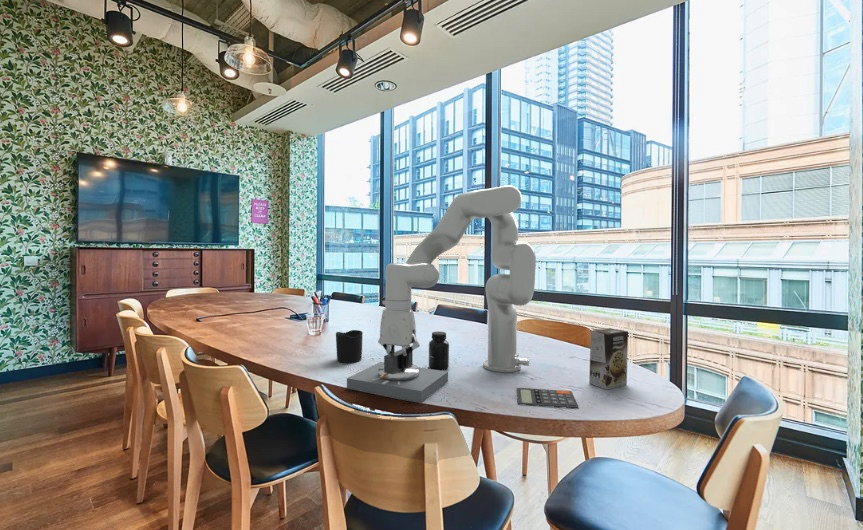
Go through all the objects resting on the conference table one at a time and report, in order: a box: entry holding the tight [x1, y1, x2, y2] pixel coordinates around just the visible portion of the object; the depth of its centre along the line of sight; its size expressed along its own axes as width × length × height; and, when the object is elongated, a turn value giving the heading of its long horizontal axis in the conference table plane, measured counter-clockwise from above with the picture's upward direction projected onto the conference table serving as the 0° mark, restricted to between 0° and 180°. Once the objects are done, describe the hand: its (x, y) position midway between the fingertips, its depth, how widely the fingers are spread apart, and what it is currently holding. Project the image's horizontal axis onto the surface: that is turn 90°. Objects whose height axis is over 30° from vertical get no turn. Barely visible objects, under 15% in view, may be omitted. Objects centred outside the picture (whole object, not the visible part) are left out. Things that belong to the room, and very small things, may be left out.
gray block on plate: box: [378, 348, 420, 381], centre depth 116 cm, size 14×12×6 cm
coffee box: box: [588, 327, 629, 390], centre depth 118 cm, size 9×6×16 cm
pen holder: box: [335, 329, 363, 364], centre depth 143 cm, size 9×9×10 cm
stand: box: [346, 361, 449, 403], centre depth 118 cm, size 24×18×3 cm
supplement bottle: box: [428, 331, 450, 371], centre depth 134 cm, size 7×7×12 cm
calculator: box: [516, 387, 580, 409], centre depth 108 cm, size 12×1×15 cm
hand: (398, 366), depth 117 cm, fingers closed on gray block on plate, 3 cm apart
